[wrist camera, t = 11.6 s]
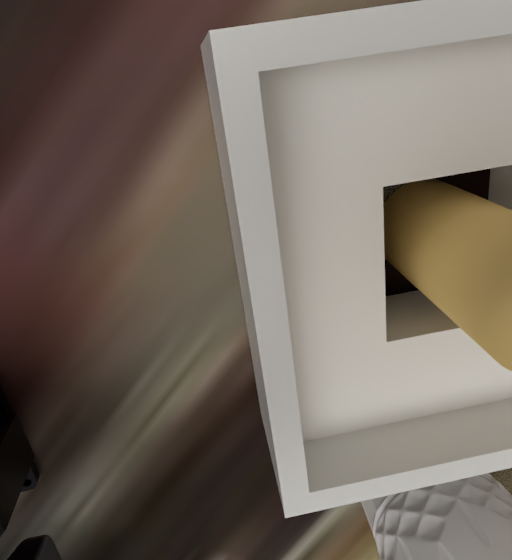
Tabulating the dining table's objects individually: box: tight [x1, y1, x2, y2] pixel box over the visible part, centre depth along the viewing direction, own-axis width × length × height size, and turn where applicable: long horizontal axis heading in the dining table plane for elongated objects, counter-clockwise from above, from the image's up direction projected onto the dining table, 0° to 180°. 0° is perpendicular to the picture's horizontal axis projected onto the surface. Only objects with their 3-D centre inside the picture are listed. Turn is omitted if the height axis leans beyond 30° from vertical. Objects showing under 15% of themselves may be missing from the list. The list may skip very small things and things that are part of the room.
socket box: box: [200, 0, 512, 518], centre depth 17 cm, size 16×16×6 cm
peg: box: [383, 179, 512, 371], centre depth 16 cm, size 4×4×8 cm
